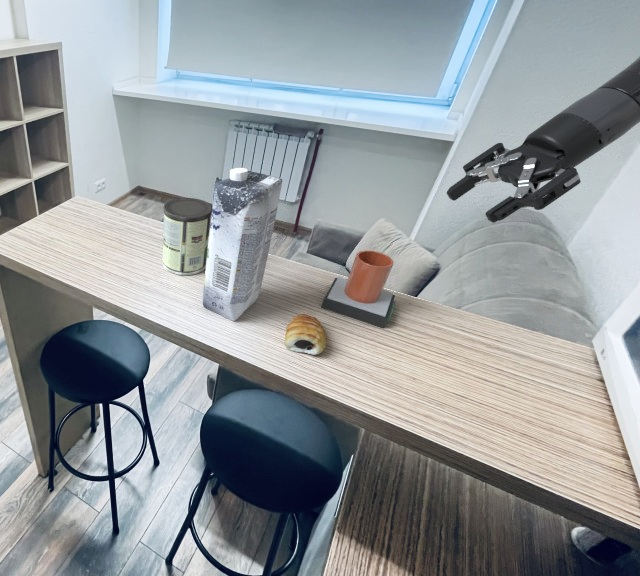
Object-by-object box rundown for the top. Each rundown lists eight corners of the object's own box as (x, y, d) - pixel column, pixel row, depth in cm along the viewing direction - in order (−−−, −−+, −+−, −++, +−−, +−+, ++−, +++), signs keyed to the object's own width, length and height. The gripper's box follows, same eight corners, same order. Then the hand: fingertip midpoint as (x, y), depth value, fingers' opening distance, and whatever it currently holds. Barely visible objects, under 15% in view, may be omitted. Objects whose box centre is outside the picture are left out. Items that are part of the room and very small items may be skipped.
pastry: (286, 318, 77) (291, 302, 75) (324, 326, 75) (330, 310, 73) (281, 350, 70) (286, 333, 68) (323, 360, 68) (330, 344, 66)
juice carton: (262, 301, 82) (291, 169, 66) (235, 327, 75) (260, 188, 60) (223, 285, 87) (242, 158, 71) (195, 308, 80) (208, 174, 65)
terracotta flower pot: (384, 295, 78) (399, 259, 74) (368, 307, 75) (383, 271, 71) (353, 281, 82) (366, 247, 77) (338, 292, 79) (350, 257, 74)
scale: (393, 304, 80) (398, 293, 79) (385, 329, 74) (391, 317, 73) (332, 286, 86) (336, 274, 84) (321, 307, 80) (324, 296, 78)
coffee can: (179, 248, 100) (183, 193, 92) (214, 262, 94) (222, 205, 86) (152, 264, 94) (153, 207, 86) (188, 281, 88) (193, 222, 80)
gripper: (530, 102, 64) (429, 176, 70) (627, 123, 52) (495, 210, 58) (543, 136, 67) (446, 204, 73) (637, 163, 55) (512, 242, 61)
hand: (468, 207), depth 65 cm, fingers open, 8 cm apart
